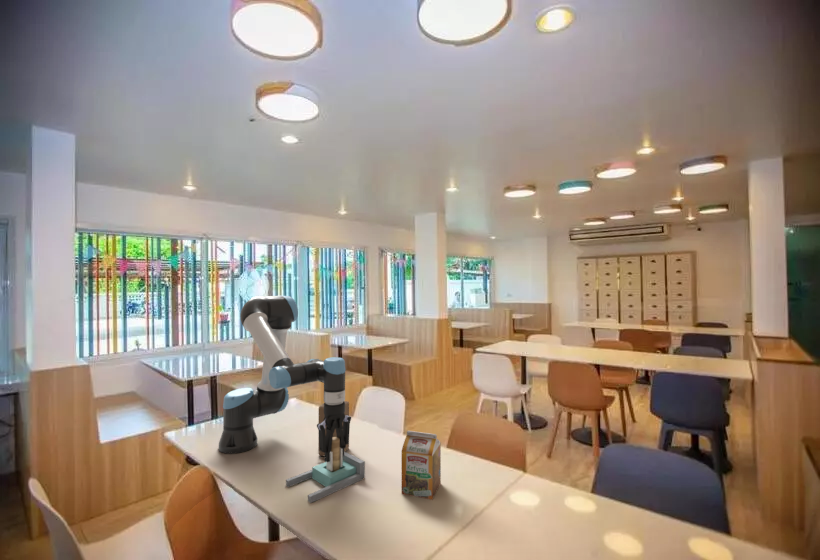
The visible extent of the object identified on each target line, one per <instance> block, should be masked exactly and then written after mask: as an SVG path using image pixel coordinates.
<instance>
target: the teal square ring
mask: <svg viewBox="0 0 820 560" xmlns="http://www.w3.org/2000/svg"><path fill="white" fill-rule="evenodd" d="M311 470H312V478H311V479H313V480H314V481H315V482H317V483H319V484H320V485H322V486H324V488H325V487H327V486H329V485H332V484H334V483H336V482H339V481H341V480H343V479H345V478H348V477H350V476H352V475H355V474H356V467H355V466H354V465H352V464H350V463H348V462H346V461H344V460H343V467H340V470H337V471H335V472H330V471H329V470H327V469H326V461H325V462H321V463H319V464H316V465H315V466H312V468H311Z"/></svg>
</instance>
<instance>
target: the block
mask: <svg viewBox="0 0 820 560" xmlns="http://www.w3.org/2000/svg"><path fill="white" fill-rule="evenodd" d="M344 402H345V412H344V413H345V415H347V416H350V402H349V401H347V400H345V401H344ZM324 403H325V402H323V403H322V404H321V405H320V406H318V423H319V424H320V423H322V422H323V419H324ZM342 425H343V423H342ZM325 427H326V425H325ZM342 430H343V429H342ZM325 434H326V428H325ZM333 437H337V434H336V429H335V431H334V433H333ZM345 446H346V448H344V451H345V452H347V451H348V450H349V448H350V443H349V444H346V445H345ZM317 452H318V455H319V456H321V457H325V453H324V452H322V451H320V449H319V442H318V450H317Z"/></svg>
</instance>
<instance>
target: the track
mask: <svg viewBox="0 0 820 560" xmlns="http://www.w3.org/2000/svg"><path fill="white" fill-rule="evenodd" d="M343 460H344V461H346V462H348V463H350V464H352V465H354V466H355V467H356V474H355V475H352V476H350V477H348V478H345V479H343V480H341V481H339V482H336V483H334V484H332V485H329V486H327V487H325V486H324V487H323V488H320V489H318V490H316V491H314V492H311V493H309V494H308V495H307V502H309V503H310V504H311V503H314V502H316V501H318V500H320V499H322V498H324V497H327V496H329V495H332V494H333V493H336V492H337V491H340V490H343V489H345V488H347V487H349V486H351V485H353V484H355V483H357V482H360V481H361V480H364V479H365V477H366V476H365V474H366V473H365V472H366V471H365V466H366V465H365V464H366V463H365V462H366V461H364V460H362V459H360V458H359V457H357V456H354V455H353V454H351V453H348V452H347V451H346V452H345V451H344V456H343ZM309 479H312V469H310V470H307V471H305V472H302V473H299V474H297V475H294V476H292V477H290V478H286V479H285V486H286V487H288V488H290V487H292V486H294V485H297V484H298V483H302V482H304V481H306V480H309Z"/></svg>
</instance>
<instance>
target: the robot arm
mask: <svg viewBox="0 0 820 560" xmlns="http://www.w3.org/2000/svg"><path fill="white" fill-rule="evenodd" d="M298 308H299V307H298V305H297V302H296V300H295V299H294V298H293V297H292V296H289V295H269V296H268V295H265V296H262V295H260V296H259V295H258V296H253V297H252V298H250V299H248V300H247V301H246V302H245V303H244V304H243V306H242V308H241V310H240V313H239V314H240V316H239V317H240V319H239V320H240V322H241V325H242V327H243V328H244V330H245V331H247V332H249V333H250V335H251V337H252V339H253V340H254V342H255V344H256V346H257V348H258V349H259V351H260V352H261V355H262V356H263V362H262V369H261V370H262V372H261V379H260V381H259V382H258V383H257V385H256V389H253V388H251V387H242V388H237V389H233V390H231V391H229V392H228V393H226V394H225V395H224V397H223V404H222V410H223V411H222V412H223V413H222V416H223V417H222V418H223V422H222V423H223V425H222V426H223V427H222V434H221V436H220V438H219V441H218V451H219V452H220V453H222V454H238V453H243V452H244V453H245V452H247V451H250V450H253V449H254V448H255V447H256V446H257V445H258V436H257V434H256V430H255V428H254V419H256V418H260V417H265V416H268V415H269V416H270V415H271V414H272V415H274V414H277V413H280V412H282V411H284V410H285V409H286V408H287V405H288V404H289V398H290V397H289V396H290V395H289V390H288V388H289V387H295V386H299V385H304V384H306V385H307V384H310V383H314V382H320V383H323V403H324V419H323V422H322V423H320V424H319V422H318V423H317V424H316V428H317V430H318V443H319V449H320V451H322V452H324V453H325V456H324V461H325V462H326V469H327V470H329V471H333V452H331V445H332V438H333V433H334V431H335V429H336V434H337V437H338V438H340V467H343V456H344V448H346V446H345V445H346V444H349V445H350V428H351V427H350V425H351V420H352V417H351V416H350V415H349V416H347V415H345V413H344V412H345V402H344V401H346V370H347V369H346V361H345V359H344V358H343V357H337V356H333V357H327V358H325V359H324V360H322V359H319V358H310V359H309V360H307V361H305V362H298V363H294V362H293V361H292V358H291V357H290V356H289V354H288V353H287V351H286V345H287V344H286V343H287V336H288V335H287V334H288V331H289V330H290V329H291V328H292V323H294V322H296V321H297V319H298V317H299V309H298ZM342 423H343V425H342ZM325 425H326V427H325ZM325 428H326V434H325ZM342 429H343V430H342Z"/></svg>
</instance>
